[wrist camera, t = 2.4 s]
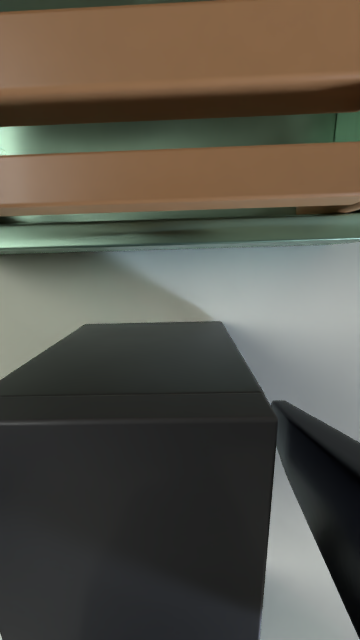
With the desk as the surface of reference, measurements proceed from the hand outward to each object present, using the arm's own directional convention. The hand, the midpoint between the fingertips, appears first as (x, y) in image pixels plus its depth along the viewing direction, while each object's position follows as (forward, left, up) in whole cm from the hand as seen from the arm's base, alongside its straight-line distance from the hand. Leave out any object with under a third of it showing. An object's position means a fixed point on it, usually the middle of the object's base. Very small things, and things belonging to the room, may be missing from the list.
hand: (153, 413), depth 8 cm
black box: (0, 0, -1) cm, 1 cm away
